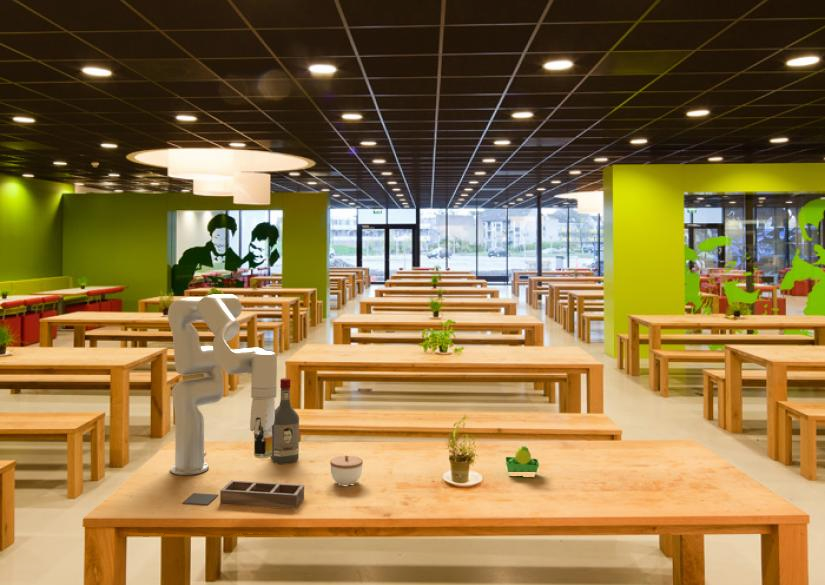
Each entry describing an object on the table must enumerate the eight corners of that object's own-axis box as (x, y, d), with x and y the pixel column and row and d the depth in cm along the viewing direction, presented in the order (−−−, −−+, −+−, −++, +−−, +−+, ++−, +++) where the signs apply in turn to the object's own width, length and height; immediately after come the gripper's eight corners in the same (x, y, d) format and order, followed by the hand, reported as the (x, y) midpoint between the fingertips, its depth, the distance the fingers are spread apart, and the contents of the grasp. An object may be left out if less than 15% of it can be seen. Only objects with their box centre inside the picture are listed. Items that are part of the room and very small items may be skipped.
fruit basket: (536, 472, 241) (538, 441, 240) (539, 480, 232) (540, 448, 232) (504, 470, 242) (505, 439, 242) (505, 478, 234) (506, 446, 233)
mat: (193, 494, 212) (193, 493, 212) (218, 495, 211) (218, 494, 211) (182, 503, 204) (182, 502, 204) (207, 505, 203) (207, 504, 203)
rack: (231, 493, 213) (231, 480, 213) (304, 498, 211) (304, 484, 211) (220, 504, 204) (220, 490, 204) (296, 509, 202) (296, 495, 202)
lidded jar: (357, 490, 219) (357, 461, 218) (325, 487, 221) (326, 459, 220) (365, 479, 229) (366, 452, 229) (335, 476, 232) (336, 449, 231)
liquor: (269, 457, 250) (270, 377, 248) (293, 455, 254) (294, 376, 252) (274, 465, 242) (275, 382, 240) (299, 462, 246) (301, 380, 244)
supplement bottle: (273, 453, 209) (273, 422, 209) (270, 458, 204) (270, 427, 203) (255, 453, 209) (256, 422, 209) (252, 458, 204) (252, 427, 203)
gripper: (261, 386, 214) (260, 442, 215) (242, 397, 197) (241, 458, 198) (284, 387, 214) (283, 443, 215) (267, 398, 197) (266, 460, 198)
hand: (263, 450), depth 207 cm, fingers closed on supplement bottle, 5 cm apart
